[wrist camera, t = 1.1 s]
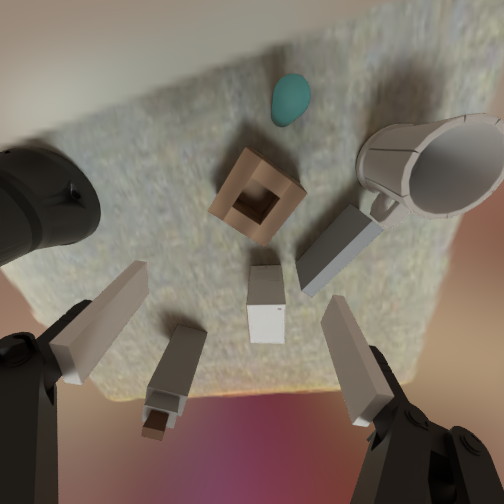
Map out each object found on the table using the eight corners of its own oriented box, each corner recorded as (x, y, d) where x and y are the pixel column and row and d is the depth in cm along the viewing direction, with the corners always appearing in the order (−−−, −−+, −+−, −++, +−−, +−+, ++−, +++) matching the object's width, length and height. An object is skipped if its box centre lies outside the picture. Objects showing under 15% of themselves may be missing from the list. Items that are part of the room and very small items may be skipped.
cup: (418, 197, 31) (495, 226, 21) (353, 209, 33) (394, 242, 22) (428, 115, 27) (532, 98, 16) (352, 133, 28) (402, 130, 18)
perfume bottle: (173, 343, 50) (129, 438, 34) (177, 324, 47) (131, 418, 31) (201, 351, 51) (171, 447, 35) (207, 332, 48) (177, 428, 32)
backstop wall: (295, 262, 38) (301, 290, 31) (349, 203, 33) (372, 220, 25) (303, 268, 38) (312, 297, 31) (359, 210, 33) (384, 229, 26)
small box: (250, 264, 39) (245, 303, 29) (281, 264, 38) (286, 303, 29) (253, 299, 42) (249, 344, 33) (281, 299, 42) (285, 344, 33)
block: (218, 198, 33) (207, 211, 28) (249, 145, 30) (245, 146, 24) (264, 230, 35) (264, 247, 30) (300, 183, 32) (307, 193, 26)
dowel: (266, 117, 28) (265, 103, 18) (280, 94, 27) (288, 63, 16) (284, 132, 29) (294, 127, 18) (299, 109, 28) (318, 90, 17)
